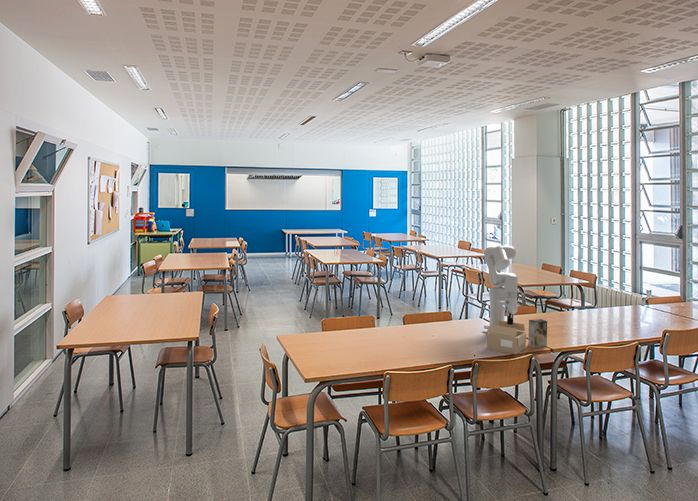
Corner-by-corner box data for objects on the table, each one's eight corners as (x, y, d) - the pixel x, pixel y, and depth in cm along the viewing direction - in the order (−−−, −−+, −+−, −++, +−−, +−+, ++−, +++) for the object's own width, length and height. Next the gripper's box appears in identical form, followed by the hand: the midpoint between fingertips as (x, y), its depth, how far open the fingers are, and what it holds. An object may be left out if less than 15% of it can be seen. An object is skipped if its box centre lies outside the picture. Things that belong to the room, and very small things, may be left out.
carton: (486, 348, 304) (486, 332, 303) (496, 342, 317) (496, 327, 316) (517, 354, 293) (517, 337, 292) (526, 348, 305) (526, 332, 304)
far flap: (497, 320, 313) (498, 320, 313) (498, 327, 315) (498, 326, 315) (524, 324, 303) (524, 324, 303) (524, 331, 305) (524, 330, 305)
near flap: (517, 329, 294) (517, 328, 294) (515, 336, 292) (515, 336, 292) (490, 324, 304) (490, 324, 304) (488, 332, 302) (488, 332, 302)
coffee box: (540, 343, 315) (541, 318, 314) (546, 346, 309) (547, 321, 307) (527, 344, 313) (528, 319, 311) (534, 347, 307) (535, 322, 305)
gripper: (512, 296, 298) (511, 327, 299) (521, 294, 309) (520, 323, 310) (500, 295, 302) (499, 325, 304) (509, 292, 314) (508, 321, 315)
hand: (510, 324), depth 307 cm, fingers closed
